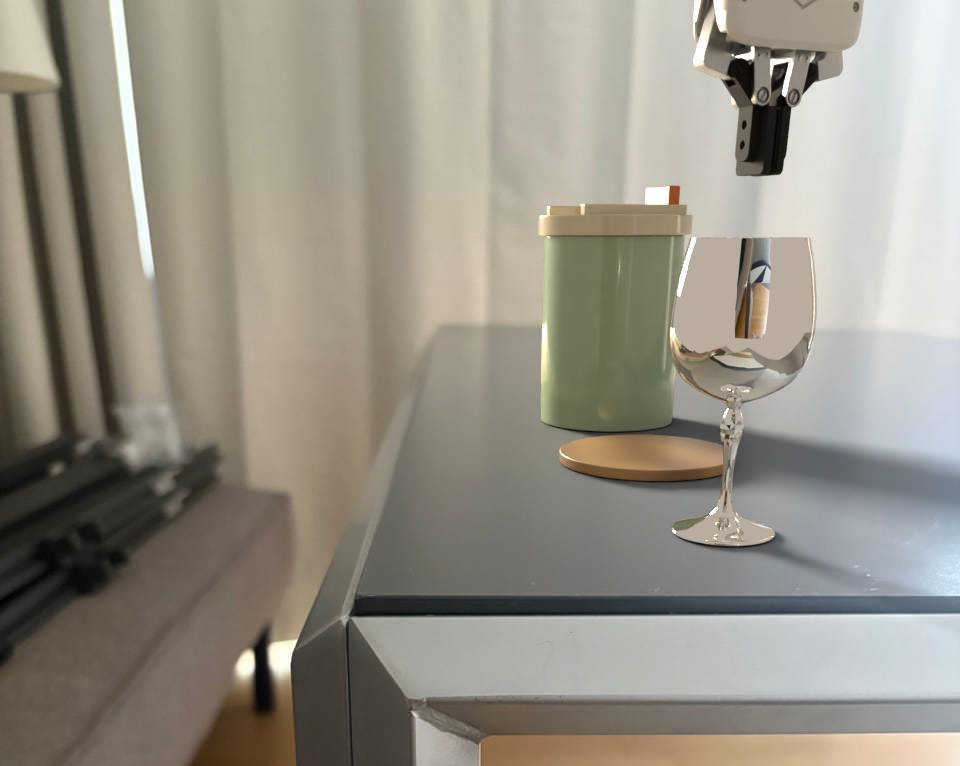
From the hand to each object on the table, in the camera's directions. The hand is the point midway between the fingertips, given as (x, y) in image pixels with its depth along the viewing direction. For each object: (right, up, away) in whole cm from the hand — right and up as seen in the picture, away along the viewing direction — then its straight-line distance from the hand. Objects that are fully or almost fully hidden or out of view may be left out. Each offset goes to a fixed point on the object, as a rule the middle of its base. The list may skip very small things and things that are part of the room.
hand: (758, 174), depth 67 cm
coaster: (-9, -21, -10) cm, 25 cm away
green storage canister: (-10, -16, +2) cm, 19 cm away
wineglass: (-8, -27, -23) cm, 37 cm away
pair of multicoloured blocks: (-8, -4, -2) cm, 9 cm away
